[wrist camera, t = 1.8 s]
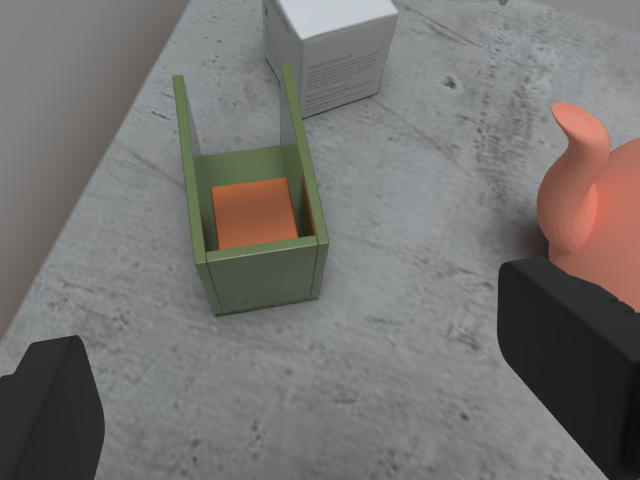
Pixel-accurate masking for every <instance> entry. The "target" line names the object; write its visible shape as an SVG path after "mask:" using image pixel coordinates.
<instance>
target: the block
mask: <svg viewBox="0 0 640 480" xmlns="http://www.w3.org/2000/svg"><path fill="white" fill-rule="evenodd" d="M210 191H211V198H212V205H213V213H214V220H215V227H216V234H217V242H218V249H219V250H223V249H229V248H236V247H242V246H249V245H255V244H262V243H268V242H275V241H281V240H288V239H294V238H299V236H298V231H297V226H296V221H295V216H294V211H293V206H292V201H291V196H290V191H289V186H288V181H287V178H286V177H283V178H276V179H269V180H261V181H254V182H247V183H240V184H232V185H225V186H218V187H211V189H210Z"/></svg>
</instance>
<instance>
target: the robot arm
mask: <svg viewBox="0 0 640 480" xmlns="http://www.w3.org/2000/svg"><path fill="white" fill-rule="evenodd" d="M497 337H498V343H499V347H500V350H501V352H502V355H503V357H504V359H505V360H506V362H507V363H508V364H509V366H510V367H511V368H512V369H513V370H514V371H515V373H516V374H517V375H518V376H519V377H520V378H521V379H522V381H523V382H524V383H525V384H526V385H527V386H528V387H529V389H530V390H531V391H532V392H533V393H534V394H535V395H536V397H537V398H538V399H539V400H540V401H541V402H542V403H543V405H544V406H545V407H546V408H547V409H548V410H549V411H550V413H551V414H552V415H553V416H554V417H555V418H556V419H557V421H558V422H559V423H560V424H561V425H562V426H563V428H564V429H565V430H566V431H567V432H568V433H569V434H570V436H571V437H572V438H573V439H574V440H575V441H576V442H577V444H578V445H579V446H580V447H581V448H582V449H583V450H584V452H585V453H586V454H587V455H588V456H589V457H590V458H591V460H592V461H593V462H594V463H595V464H596V465H597V466H598V468H599V469H600V470H601V471H602V472H603V473H604V475H605V476H606V477H607V478H608V479H609V480H639V479H640V313H639V312H637V313H635V309H633V308H632V307H630V306H629V305H627V304H626V303H624V302H623V301H619V300H618V298H617V297H616V296H614V295H613V294H611V293H610V292H608V291H607V290H605V289H604V288H602V287H601V286H599V285H597V284H594V283H592V282H589V281H586V280H583V279H581V278H578V277H575V276H570V275H569V274H567V273H566V272H565V271H563V270H562V269H560V268H559V267H557V266H556V265H555V264H553V263H552V262H550V261H549V260H547V259H546V258H544V257H541V256H539V257H533V258H527V259H521V260H515V261H510V262H505V263H503V264H502V265H501V267H500V270H499V276H498V313H497ZM104 434H105V422H104V413H103V408H102V404H101V400H100V397H99V394H98V390H97V387H96V384H95V380H94V377H93V374H92V370H91V367H90V364H89V360H88V357H87V354H86V350H85V347H84V344H83V342H82V340H81V339H80V337H79V336H77V335H74V336H68V337H63V338H57V339H51V340H45V341H39V342H34V343H32V344H30V346H29V347H28V349H27V351H26V353H25V355H24V356H23V358H22V360H21V362H20V364H19V365H18V367H17V369H16V371H15V372H14V374H11V375H5V376H2V377H1V378H0V480H94V477H95V474H96V470H97V466H98V462H99V458H100V454H101V450H102V446H103V442H104Z"/></svg>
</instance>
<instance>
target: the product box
mask: <svg viewBox="0 0 640 480" xmlns="http://www.w3.org/2000/svg"><path fill="white" fill-rule="evenodd" d="M262 5H263V39H264V54H265V56H266V58H267V60H268V61H269V63H270V65H271V67H272V68H273V70H274V72H275V74H276V76H277V78H278V80H279V82H280V64H284V63H290V66H291V70H292V75H293V79H294V84H295V88H296V93H297V97H298V102H299V107H300V111H301V116H302V119H303V118H306V117H309V116H312V115H315V114H318V113H321V112H323V111H326V110H329V109H332V108H335V107H338V106H341V105H344V104H347V103H350V102H353V101H356V100H359V99H362V98H365V97H368V96H371V95H374V94H376V93H378V90H379V86H380V82H381V78H382V74H383V71H384V67H385V63H386V59H387V55H388V52H389V48H390V44H391V41H392V37H393V33H394V29H395V25H396V22H397V18H398V14H399V13H398V11H397V9H396V8H395V6H394V4H393V3H392V1H391V0H262Z"/></svg>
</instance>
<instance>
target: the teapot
mask: <svg viewBox="0 0 640 480" xmlns="http://www.w3.org/2000/svg"><path fill="white" fill-rule="evenodd" d="M552 114H553V116H554V118H555V120H556V122H557V123H558V125H559V126H560V127H561V128H562V130H563V131H564V133H565V134H566V136H567V137H568V140H569V145H568V148H567V150H566V151H565V152H564V154H563V155H562V156H561V157H560V158H559V159H558V160H557V161H556V162H555V163H554V164H553V165H552V166H551V168H550V169H549V170H548V172H547V173H546V174H545V176H544V179H543V181H542V183H541V186H540V188H539V191H538V197H537V219H538V222H539V226H540V228H541V230H542V232H543V234H544V235H545V237H546V239H547V240H548V241H549V261H550V262H552V263H553V264H555V265H556V266H557V267H559V268H560V269H562V270H563V271H565V272H566V273H567V274H569V275H570V276H575V277H578V278H581V279H583V280H586V281H589V282H592V283H594V284H597V285H599V286H601V287H602V288H604V289H605V290H607V291H608V292H610V293H611V294H613V295H614V296H616V297H617V298H618V300H619V301H623V302H624V303H626V304H627V305H629V306H630V307H632V308H633V309H635V313H637V312H639V313H640V138H637V139H635V140H632V141H630V142H628V143H626V144H624V145H622V146H620V147H618V148H617V149H615V150H613V151H612V152H610V149H611V146H610V138H609V134H608V132H607V130H606V128H605V127H604V126H603V125H602V123H601V122H600V121H599V120H598V119H596V118H595V117H594V116H593V115H591V114H590V113H588V112H587V111H585V110H583V109H581V108H579V107H577V106H575V105H572V104H569V103H564V102H557V103H555V104H553V106H552Z"/></svg>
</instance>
